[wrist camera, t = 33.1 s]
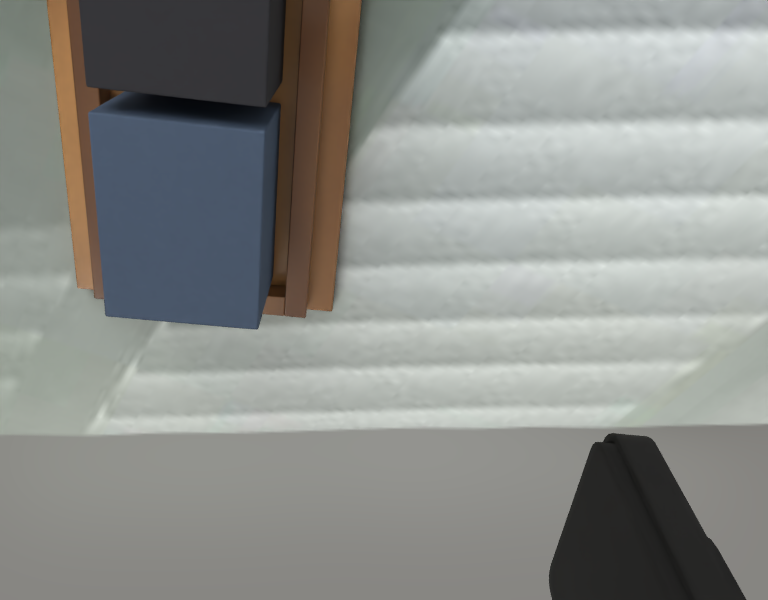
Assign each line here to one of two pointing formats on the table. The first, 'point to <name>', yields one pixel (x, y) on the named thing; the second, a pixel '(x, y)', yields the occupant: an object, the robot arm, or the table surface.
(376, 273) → the table surface
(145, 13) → the charcoal pad
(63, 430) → the table surface
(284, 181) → the brown wooden flat tray
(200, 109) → the slate pad
